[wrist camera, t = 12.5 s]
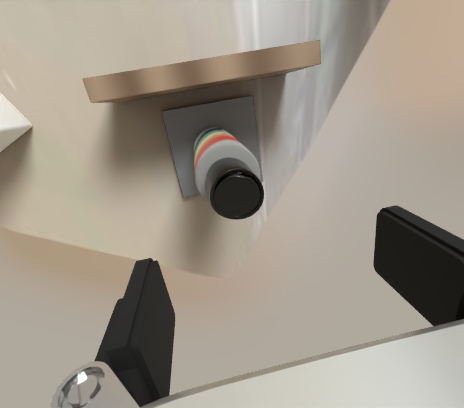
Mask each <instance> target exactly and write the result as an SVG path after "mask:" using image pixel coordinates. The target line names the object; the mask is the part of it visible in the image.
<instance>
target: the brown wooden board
mask: <svg viewBox="0 0 464 408" xmlns="http://www.w3.org/2000/svg"><path fill="white" fill-rule="evenodd" d="M318 64H321V55H320V40H317V41H311V42H305V43H298V44H292V45H286V46H280V47H274V48H268V49H262V50H256V51H249V52H243V53H237V54H231V55H225V56H219V57H213V58H206V59H200V60H194V61H188V62H182V63H176V64H170V65H164V66H157V67H151V68H145V69H139V70H133V71H127V72H121V73H114V74H108V75H102V76H96V77H90V78H84V79H83V82H84V85H85V88H86V91H87V93H88V96H89V99H90V102H91V103H101V102H122V101H128V100H134V99H140V98H146V97H151V96H157V95H163V94H169V93H175V92H181V91H186V90H192V89H198V88H204V87H210V86H216V85H222V84H227V83H233V82H239V81H245V80H251V79H257V78H262V77H268V76H274V75H280V74H286V73H290V72H293V71H297V70H300V69H304V68H307V67H311V66H314V65H318Z"/></svg>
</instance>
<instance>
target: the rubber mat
mask: <svg viewBox="0 0 464 408" xmlns="http://www.w3.org/2000/svg"><path fill="white" fill-rule="evenodd" d="M162 115H163V119H164V123H165V127H166V131H167V135H168V139H169V143H170V147H171V151H172V155H173V159H174V163H175V167H176V171H177V175H178V179H179V183H180V187H181V191H182V195H183V198H184V197H189V196H194V195H199V194H200V192H199V191H198V188H197V186H196V182H195V170H194V143H195V140H196V138H197V136H198V135H199V134H200V133H201V132H202V131H203V130H205V129H207V128H211V127H218V128H222V129H224V130H226V131H227V132H229V133H230V134H231V135H232V136H233V137H234V138H236V139H237V140H238V141H239V142H240V143H241V144H242V145H244V146H245V147H246V148H247V149H248V150H249V151H250V152H251V153H252V154H253V155H254V157H255V158H256V160H257V162H258V165H259V168H260V181H261V182H263V179H262V170H261V162H260V153H259V145H258V137H257V128H256V120H255V111H254V103H253V96H247V97H241V98H236V99H230V100H224V101H219V102H213V103H207V104H201V105H196V106H190V107H184V108H179V109H173V110H167V111H162Z"/></svg>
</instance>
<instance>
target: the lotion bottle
mask: <svg viewBox="0 0 464 408" xmlns="http://www.w3.org/2000/svg"><path fill="white" fill-rule="evenodd" d="M194 170H195V182H196V186H197V188H198V191H199V192H200V194H201V195H202V197H203V198H204V199H205V200H207V201H208V202H209V203H211V205H212V207H213V209H214V210H215V211H216V212H217V213H218V214H219V215H221V216H223V217H225V218H229V219H244V218H247V217H250V216H252V215H253V214H255V213H256V212H257V211H258V210H259V208H260V207H261V205H262V203H263V199H264V190H263V186H262V183H261V181H260V168H259V165H258V162H257V160H256V158H255V157H254V155H253V154H252V153H251V152H250V151H249V150H248V149H247V148H246V147H245V146H244V145H242V144H241V143H240V142H239V141H238V140H237V139H236V138H234V137H233V136H232V135H231V134H230V133H229V132H227V131H226V130H224V129H222V128H218V127H211V128H207V129H205V130H203V131H202V132H201V133H200V134H199V135H198V136H197V138H196V140H195V143H194Z"/></svg>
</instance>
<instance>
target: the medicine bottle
mask: <svg viewBox="0 0 464 408" xmlns="http://www.w3.org/2000/svg"><path fill="white" fill-rule="evenodd" d="M31 127H32V124H31V123H30V122H29V121H28V120H27V119H26V118H25V117H24V116H23V115H22V114H21V113H20V112H19V111H18V110H17V109H16V108H15V107H14V106H13V105H12V104H11V103H10V102H9V101H8V100H7V99H6V98H5V97H4V96H3V95H2V94H1V93H0V152H1V151H3V150H4V149H5V148H6V147H8V146H9V145H10V144H11V143H13V142H14V141H15V140H16V139H18V138H19V137H20V136H21V135H23V134H24V133H25V132H26V131H28V130H29V129H30V128H31Z"/></svg>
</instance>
